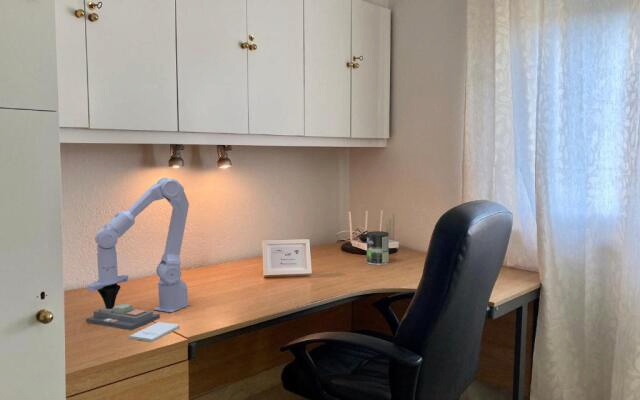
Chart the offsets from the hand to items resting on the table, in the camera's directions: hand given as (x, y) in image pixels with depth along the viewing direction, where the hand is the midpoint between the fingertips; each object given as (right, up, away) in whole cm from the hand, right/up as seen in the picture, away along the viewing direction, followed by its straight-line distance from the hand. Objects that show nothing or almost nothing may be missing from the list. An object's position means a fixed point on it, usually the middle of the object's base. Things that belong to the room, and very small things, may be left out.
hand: (109, 308), depth 166 cm
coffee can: (+94, +5, +75) cm, 121 cm away
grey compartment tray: (+5, -3, -2) cm, 6 cm away
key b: (+5, -1, -2) cm, 6 cm away
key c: (+10, -2, -4) cm, 11 cm away
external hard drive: (+19, -5, -15) cm, 25 cm away
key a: (0, -2, 0) cm, 2 cm away
